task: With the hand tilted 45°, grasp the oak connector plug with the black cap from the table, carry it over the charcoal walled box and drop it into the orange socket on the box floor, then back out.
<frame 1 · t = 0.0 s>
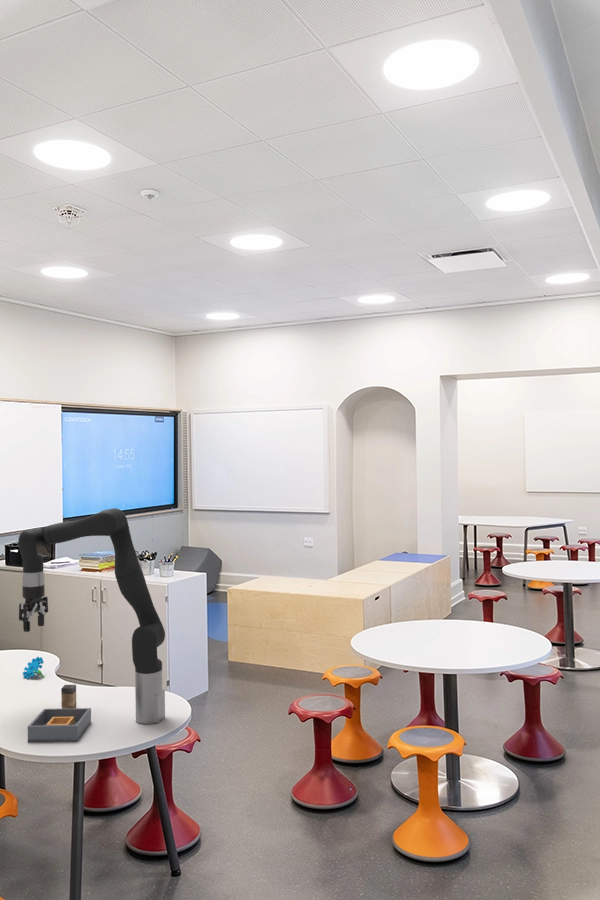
hand: (34, 628, 268), 29 cm above the table, tool pointing down, fingers open, 8 cm apart
plug: (69, 714, 262), on the table
blue lumpy cluster: (33, 677, 306), on the table
box: (60, 732, 246), on the table
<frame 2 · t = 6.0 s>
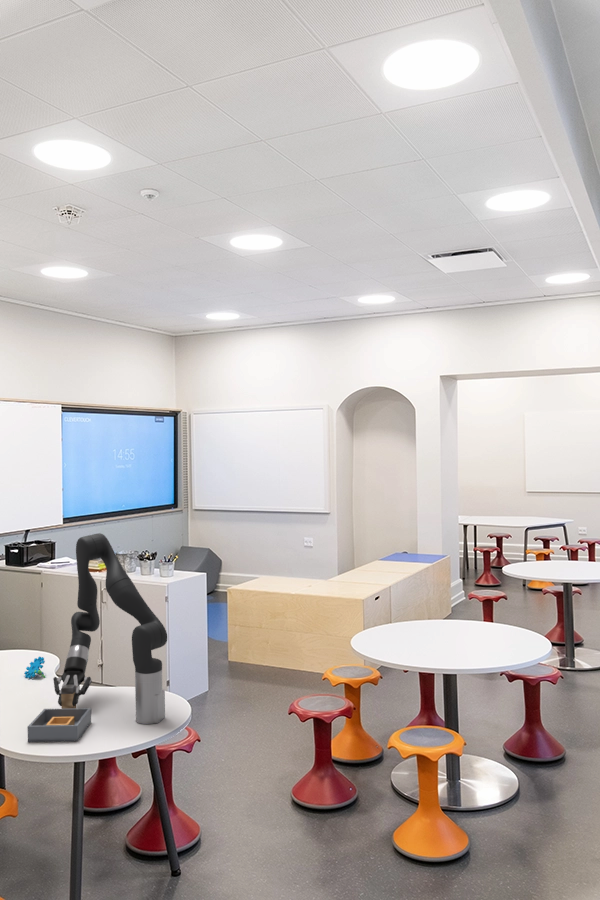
hand: (67, 704, 260), 4 cm above the table, tool tilted 45°, fingers closed on plug, 4 cm apart
plug: (69, 714, 262), on the table, touching gripper
everything else where it was.
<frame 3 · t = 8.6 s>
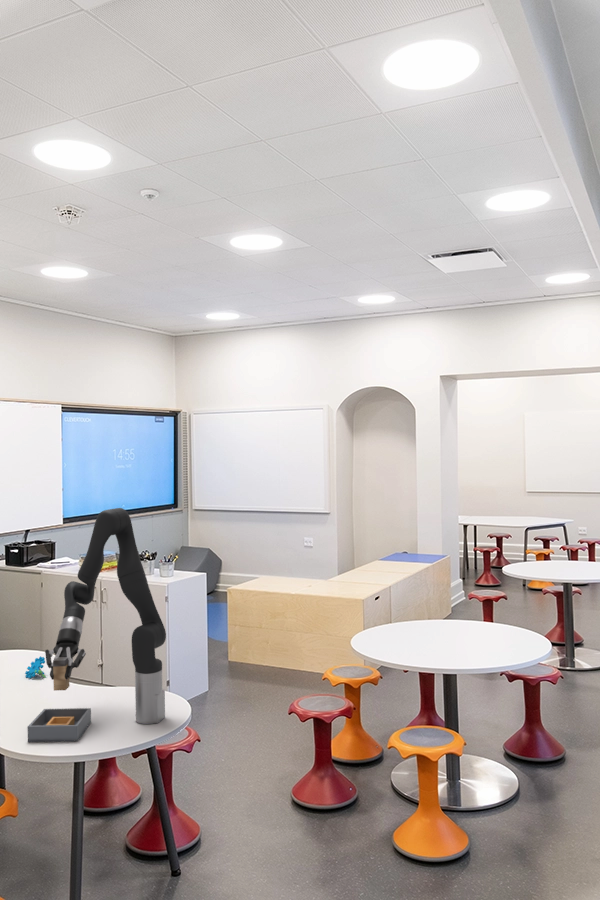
hand: (59, 678, 247), 18 cm above the table, tool tilted 45°, fingers closed on plug, 4 cm apart
plug: (61, 688, 249), point 14 cm above the table, touching gripper
everything else where it was.
when the fingers open (6 cm above the table, at t = 11.6 s): plug stays where it is, resting on box.
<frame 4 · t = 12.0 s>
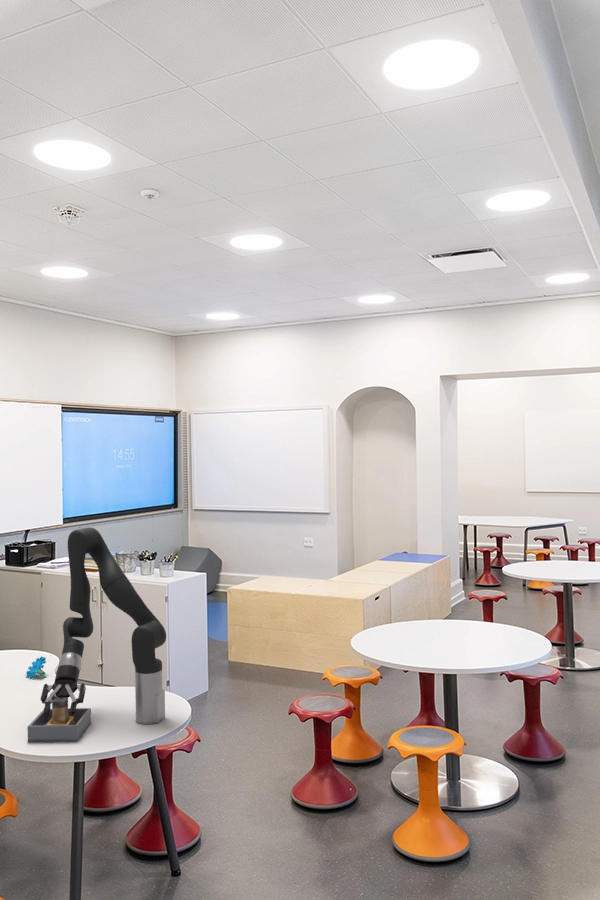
hand: (58, 714, 245), 6 cm above the table, tool tilted 45°, fingers open, 7 cm apart
plug: (60, 729, 246), point 1 cm above the table, touching box
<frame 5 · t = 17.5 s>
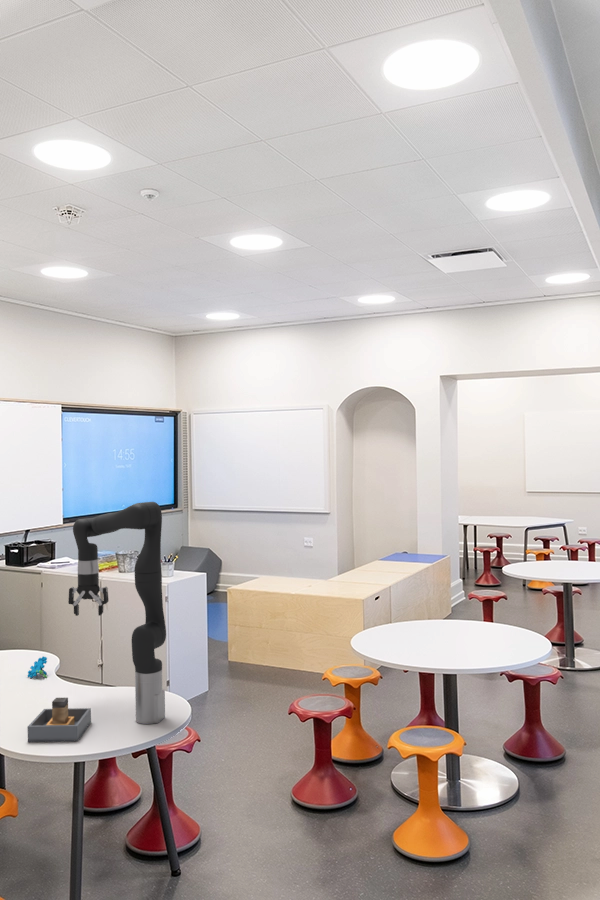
hand: (88, 615, 275), 32 cm above the table, tool pointing down, fingers open, 8 cm apart
at the end: plug 0.1 cm off-centre on the box, point 0.8 cm above the box's base; plug tilted 0°; the gripper is holding nothing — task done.
